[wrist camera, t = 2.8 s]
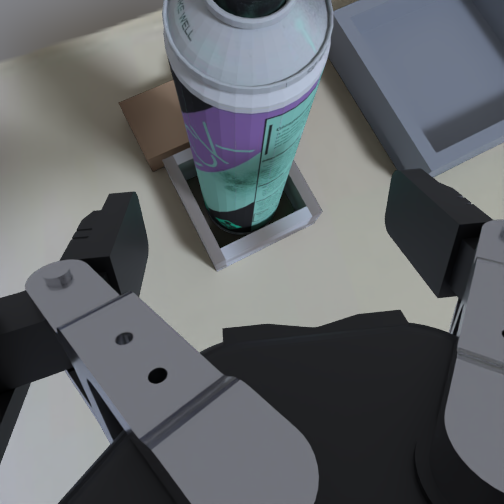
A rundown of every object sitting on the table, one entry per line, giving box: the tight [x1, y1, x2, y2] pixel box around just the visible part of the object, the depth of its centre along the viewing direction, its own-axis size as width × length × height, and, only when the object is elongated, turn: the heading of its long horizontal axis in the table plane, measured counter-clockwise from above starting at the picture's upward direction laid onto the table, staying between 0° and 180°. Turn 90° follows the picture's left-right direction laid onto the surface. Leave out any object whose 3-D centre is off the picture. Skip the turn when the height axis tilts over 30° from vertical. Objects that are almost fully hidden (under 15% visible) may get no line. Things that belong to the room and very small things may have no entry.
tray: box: [328, 0, 504, 177], centre depth 30 cm, size 14×14×4 cm
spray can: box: [162, 0, 333, 235], centre depth 19 cm, size 6×6×20 cm
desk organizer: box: [119, 80, 323, 271], centre depth 28 cm, size 14×15×4 cm
